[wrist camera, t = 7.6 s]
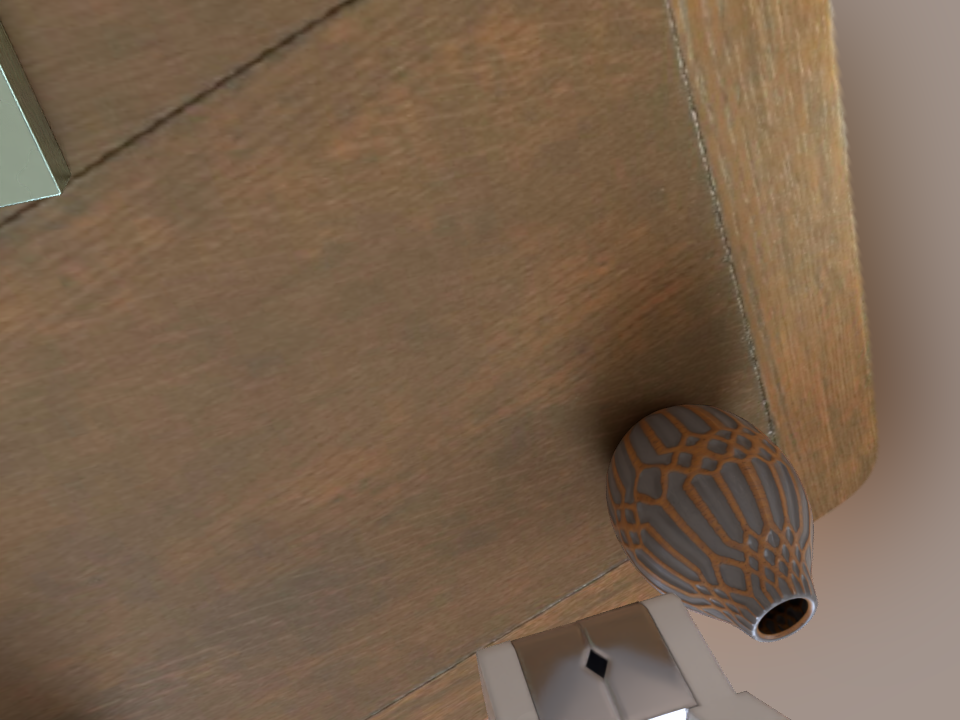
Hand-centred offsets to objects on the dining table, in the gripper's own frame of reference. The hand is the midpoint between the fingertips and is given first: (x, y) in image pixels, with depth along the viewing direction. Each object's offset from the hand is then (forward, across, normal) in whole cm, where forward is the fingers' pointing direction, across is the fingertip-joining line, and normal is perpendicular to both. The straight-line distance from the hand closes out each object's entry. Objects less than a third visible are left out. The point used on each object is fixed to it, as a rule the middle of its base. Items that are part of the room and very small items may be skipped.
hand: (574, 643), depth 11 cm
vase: (+15, -9, +12) cm, 21 cm away
